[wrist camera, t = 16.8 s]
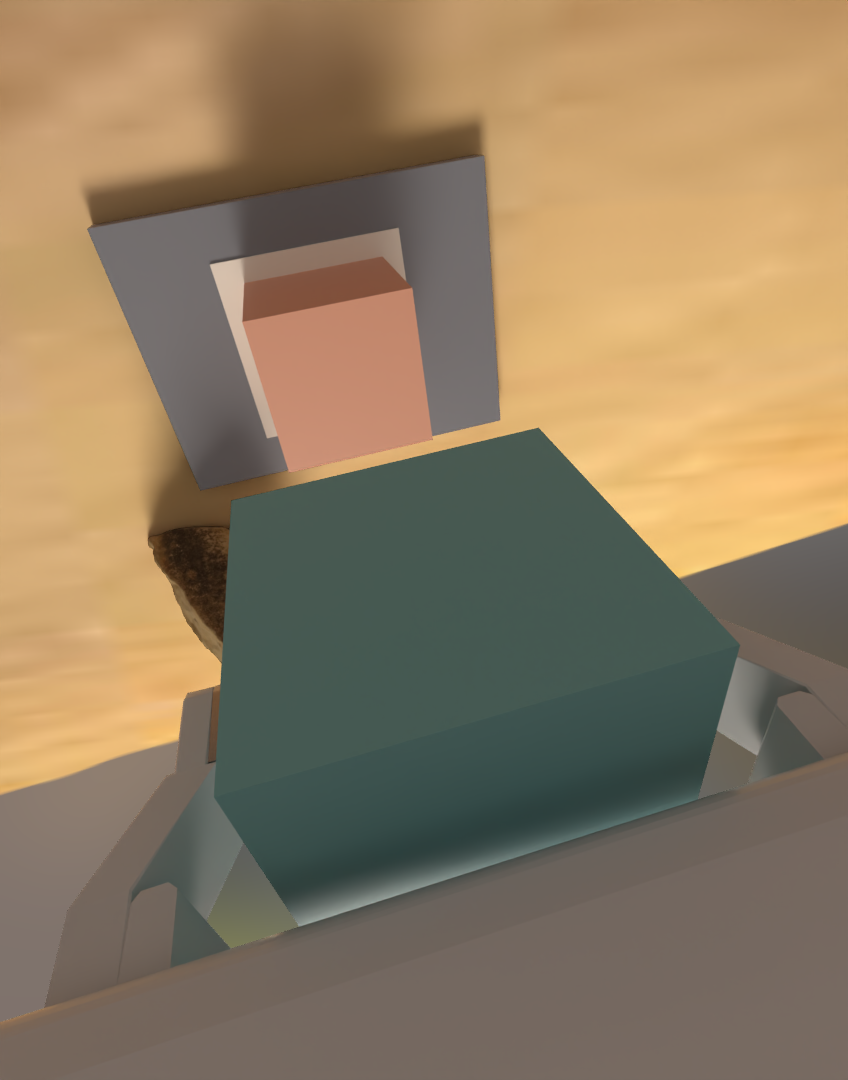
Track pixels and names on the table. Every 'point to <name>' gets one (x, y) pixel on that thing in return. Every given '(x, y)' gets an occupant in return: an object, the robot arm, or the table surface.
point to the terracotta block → (338, 361)
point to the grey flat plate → (291, 247)
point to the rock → (197, 577)
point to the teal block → (451, 673)
